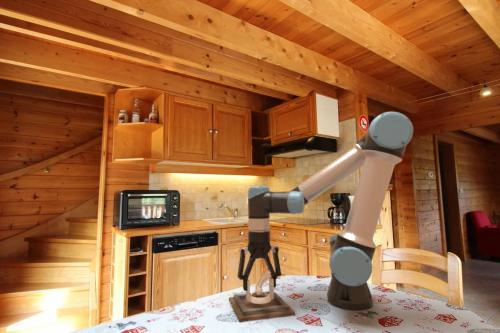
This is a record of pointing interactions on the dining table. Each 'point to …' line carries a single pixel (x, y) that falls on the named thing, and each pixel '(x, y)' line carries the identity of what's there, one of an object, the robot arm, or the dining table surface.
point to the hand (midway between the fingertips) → (259, 298)
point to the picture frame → (259, 308)
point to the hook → (259, 291)
